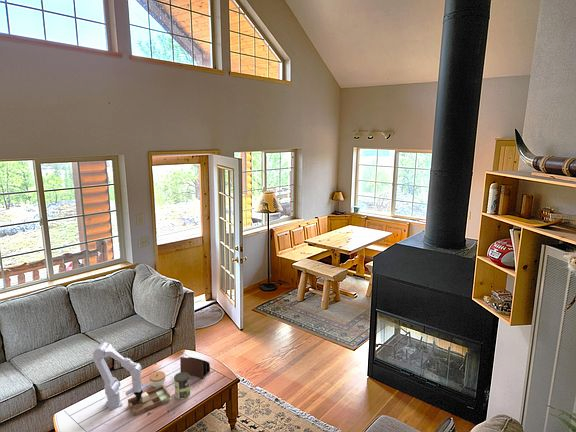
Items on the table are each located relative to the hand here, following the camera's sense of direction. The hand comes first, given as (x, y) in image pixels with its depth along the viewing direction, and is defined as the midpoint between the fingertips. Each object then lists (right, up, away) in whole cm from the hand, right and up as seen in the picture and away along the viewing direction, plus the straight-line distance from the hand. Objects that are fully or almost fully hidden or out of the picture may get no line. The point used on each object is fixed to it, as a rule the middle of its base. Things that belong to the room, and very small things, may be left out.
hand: (138, 400), depth 256 cm
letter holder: (+29, +4, +36) cm, 46 cm away
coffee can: (+26, -1, +11) cm, 29 cm away
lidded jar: (+6, +1, +20) cm, 21 cm away
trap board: (+6, -3, +3) cm, 8 cm away
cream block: (+3, -1, +2) cm, 4 cm away
